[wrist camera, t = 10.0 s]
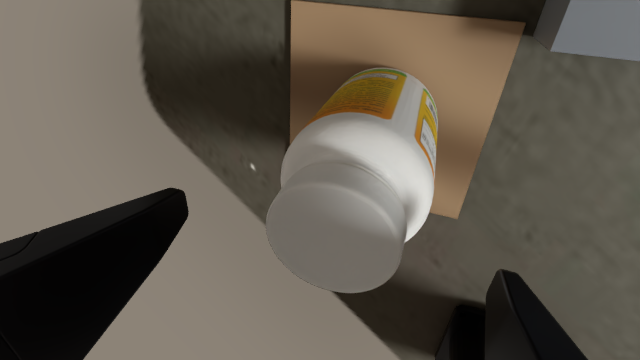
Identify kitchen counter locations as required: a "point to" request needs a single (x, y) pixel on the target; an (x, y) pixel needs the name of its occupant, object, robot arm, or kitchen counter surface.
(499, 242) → the kitchen counter surface
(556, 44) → the grey rectangular frame
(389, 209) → the supplement bottle
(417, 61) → the pad
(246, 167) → the kitchen counter surface
